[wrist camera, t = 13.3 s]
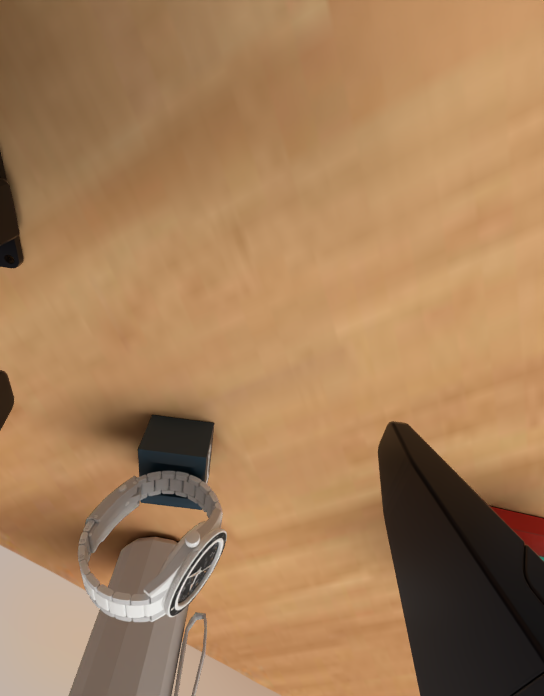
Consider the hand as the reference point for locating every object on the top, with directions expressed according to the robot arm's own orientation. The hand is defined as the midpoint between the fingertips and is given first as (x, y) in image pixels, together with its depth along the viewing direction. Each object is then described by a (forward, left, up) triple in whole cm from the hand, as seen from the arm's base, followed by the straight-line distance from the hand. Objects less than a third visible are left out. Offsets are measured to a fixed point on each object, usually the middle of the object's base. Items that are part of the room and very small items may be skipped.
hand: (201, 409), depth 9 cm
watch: (-3, -16, -13) cm, 21 cm away
